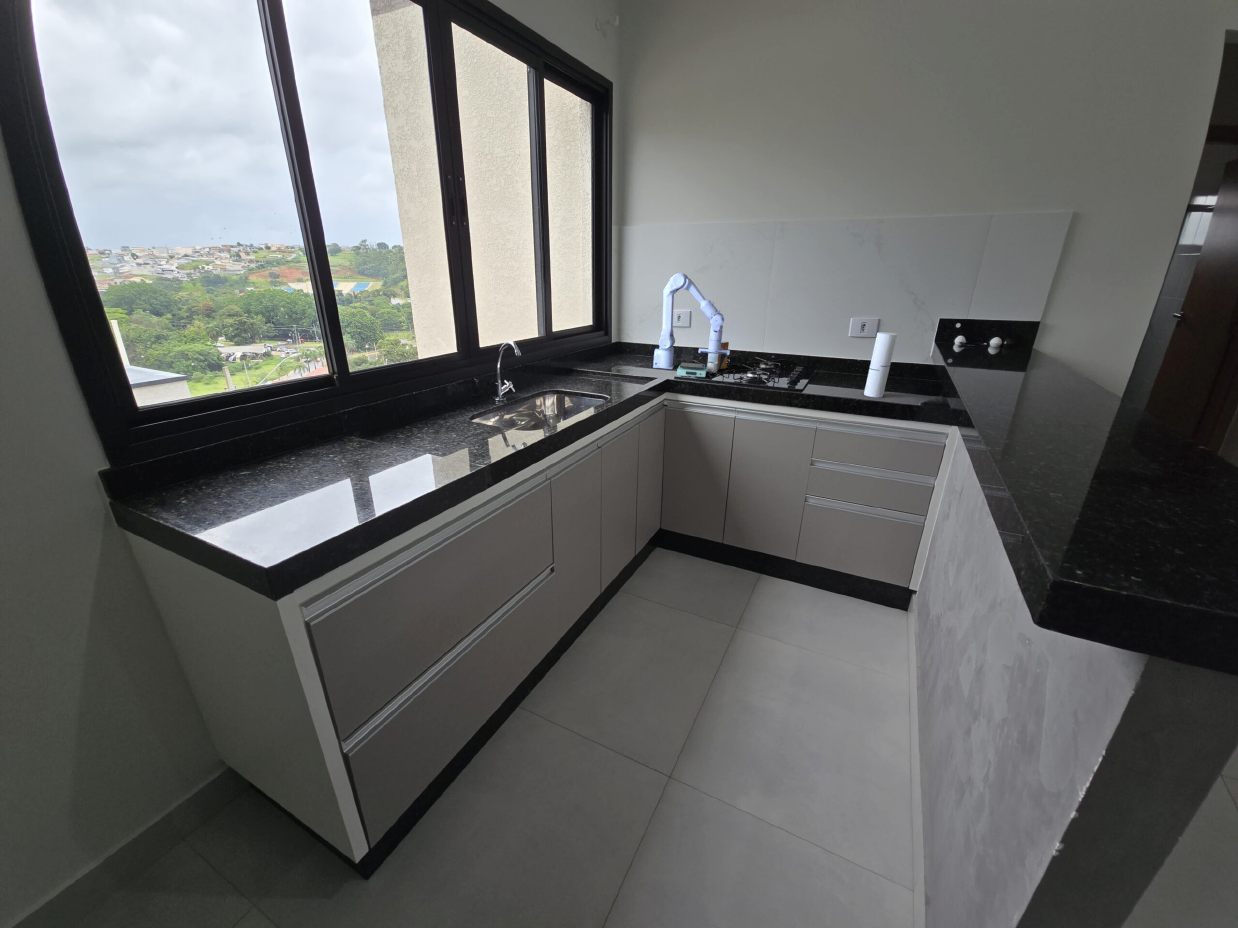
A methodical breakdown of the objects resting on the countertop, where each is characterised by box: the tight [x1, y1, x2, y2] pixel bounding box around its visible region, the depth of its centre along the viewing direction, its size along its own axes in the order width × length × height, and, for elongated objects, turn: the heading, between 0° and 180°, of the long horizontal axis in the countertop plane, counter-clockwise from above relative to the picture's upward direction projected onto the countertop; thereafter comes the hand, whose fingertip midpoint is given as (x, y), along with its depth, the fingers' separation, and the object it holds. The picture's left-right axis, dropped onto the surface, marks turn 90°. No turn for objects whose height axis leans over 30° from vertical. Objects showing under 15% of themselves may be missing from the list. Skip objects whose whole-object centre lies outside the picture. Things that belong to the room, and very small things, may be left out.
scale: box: [676, 365, 708, 378], centre depth 237 cm, size 13×11×2 cm
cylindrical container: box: [863, 331, 898, 398], centre depth 204 cm, size 7×7×25 cm
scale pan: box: [679, 362, 705, 369], centre depth 236 cm, size 11×9×1 cm
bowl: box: [706, 361, 719, 374], centre depth 243 cm, size 5×5×4 cm
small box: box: [707, 340, 730, 370], centre depth 251 cm, size 8×6×13 cm
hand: (712, 369), depth 243 cm, fingers open, 6 cm apart
